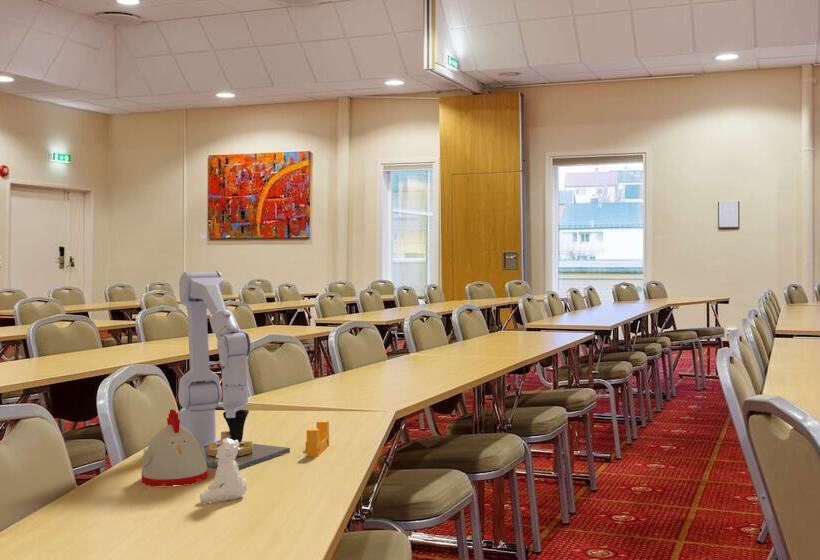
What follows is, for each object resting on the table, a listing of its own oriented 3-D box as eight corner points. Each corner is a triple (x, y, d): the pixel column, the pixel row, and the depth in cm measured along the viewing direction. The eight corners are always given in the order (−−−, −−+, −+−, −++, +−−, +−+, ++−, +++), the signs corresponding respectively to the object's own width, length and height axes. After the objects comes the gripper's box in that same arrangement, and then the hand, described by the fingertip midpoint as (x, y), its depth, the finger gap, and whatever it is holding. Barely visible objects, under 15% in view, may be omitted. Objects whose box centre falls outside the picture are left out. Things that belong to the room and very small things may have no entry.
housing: (169, 461, 214) (168, 444, 214) (225, 444, 231) (225, 428, 231) (236, 470, 204) (236, 452, 204) (289, 451, 222) (289, 435, 222)
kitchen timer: (148, 490, 189) (146, 418, 189) (135, 476, 201) (133, 408, 201) (215, 481, 196) (213, 411, 195) (198, 468, 208) (196, 402, 207)
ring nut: (232, 445, 225) (232, 421, 225) (261, 450, 219) (261, 426, 219) (198, 453, 217) (197, 429, 217) (227, 459, 210) (226, 434, 210)
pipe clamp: (312, 446, 229) (311, 420, 229) (329, 446, 228) (328, 420, 228) (299, 457, 217) (299, 430, 217) (317, 457, 216) (317, 430, 216)
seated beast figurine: (210, 491, 188) (208, 433, 187) (251, 490, 187) (250, 432, 187) (198, 504, 178) (196, 443, 178) (242, 504, 178) (240, 442, 177)
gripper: (223, 379, 220) (225, 434, 221) (211, 390, 205) (213, 450, 206) (252, 378, 220) (254, 434, 221) (243, 389, 205) (244, 449, 206)
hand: (236, 442), depth 213 cm, fingers closed, pressing on ring nut
